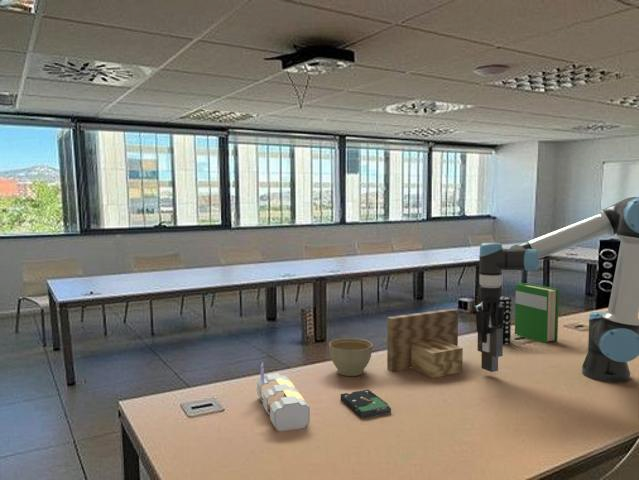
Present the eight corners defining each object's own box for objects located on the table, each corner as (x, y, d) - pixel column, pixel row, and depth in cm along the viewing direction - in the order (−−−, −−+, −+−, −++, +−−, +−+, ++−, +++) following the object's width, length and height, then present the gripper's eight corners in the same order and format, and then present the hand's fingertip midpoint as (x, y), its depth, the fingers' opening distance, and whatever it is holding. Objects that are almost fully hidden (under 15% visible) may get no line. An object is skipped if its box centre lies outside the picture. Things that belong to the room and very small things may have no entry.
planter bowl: (380, 376, 179) (380, 347, 178) (339, 382, 173) (339, 352, 172) (360, 363, 194) (360, 335, 193) (322, 368, 188) (322, 340, 187)
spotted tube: (486, 340, 225) (487, 296, 223) (502, 338, 227) (503, 295, 226) (498, 345, 217) (499, 300, 215) (514, 343, 219) (515, 299, 218)
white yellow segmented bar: (257, 399, 160) (256, 359, 159) (288, 395, 163) (287, 356, 162) (274, 433, 136) (273, 387, 135) (309, 427, 139) (309, 382, 138)
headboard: (452, 356, 201) (453, 308, 200) (480, 367, 187) (481, 316, 186) (387, 369, 187) (387, 317, 185) (412, 382, 173) (412, 326, 171)
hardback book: (557, 341, 221) (559, 289, 220) (545, 343, 218) (547, 290, 217) (526, 332, 237) (527, 283, 236) (514, 334, 234) (515, 284, 233)
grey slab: (483, 365, 183) (483, 322, 182) (502, 372, 175) (502, 328, 174) (477, 366, 181) (477, 323, 180) (496, 373, 173) (496, 329, 172)
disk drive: (339, 402, 158) (361, 420, 144) (339, 393, 157) (361, 411, 144) (368, 397, 162) (392, 414, 148) (368, 389, 161) (391, 405, 148)
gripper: (498, 282, 183) (498, 344, 184) (465, 286, 176) (465, 351, 177) (514, 285, 176) (514, 349, 178) (481, 289, 169) (480, 356, 171)
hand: (489, 350), depth 178 cm, fingers closed on grey slab, 3 cm apart
